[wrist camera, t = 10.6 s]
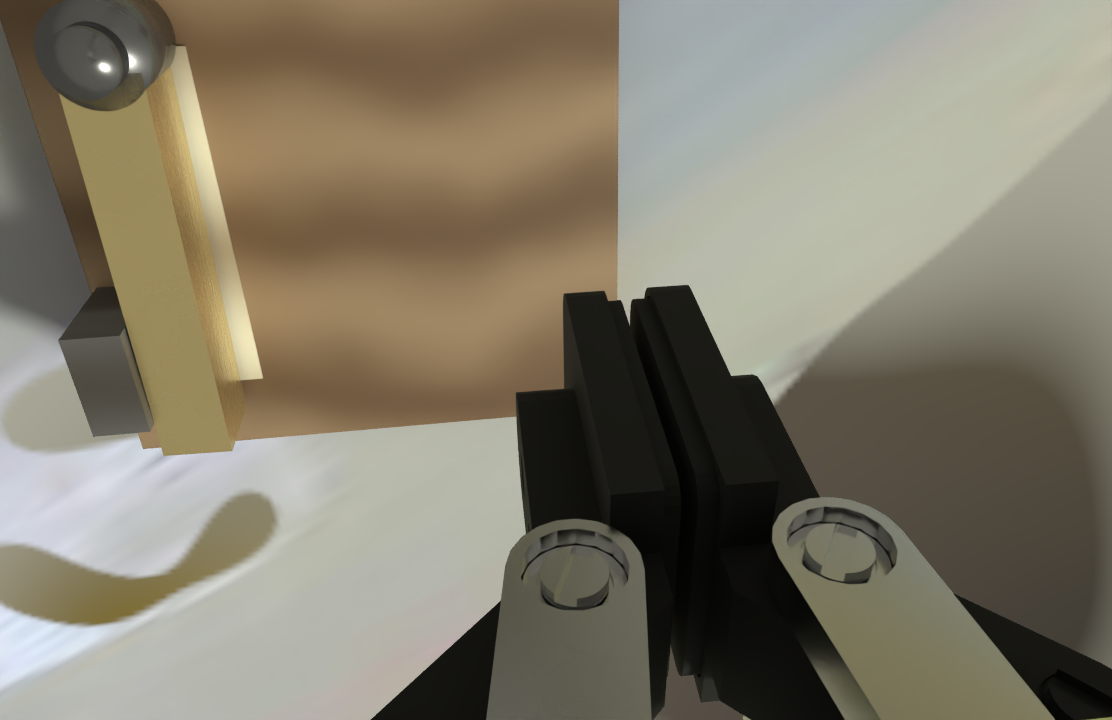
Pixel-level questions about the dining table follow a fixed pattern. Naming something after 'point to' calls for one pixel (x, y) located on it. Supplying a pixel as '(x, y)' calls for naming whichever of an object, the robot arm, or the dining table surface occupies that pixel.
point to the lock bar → (147, 211)
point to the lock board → (369, 203)
